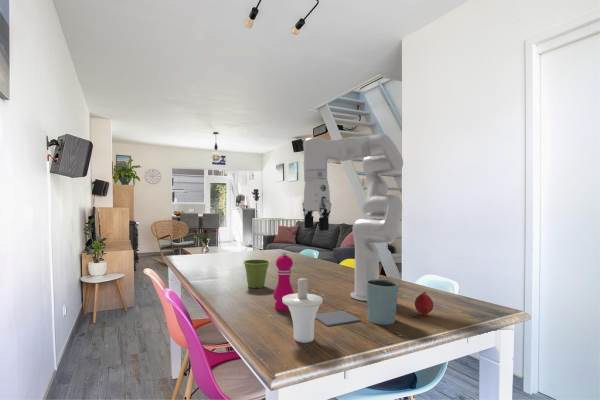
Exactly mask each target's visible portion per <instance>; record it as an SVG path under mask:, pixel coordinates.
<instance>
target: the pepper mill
mask: <svg viewBox="0 0 600 400" xmlns="http://www.w3.org/2000/svg"><path fill="white" fill-rule="evenodd" d="M293 264H294V262H293V259H292V257H291V256H288V252H287V251H282V253H281V255H280V256H279V257H277V258H276V262H275V267H277V269H276V271H277V272H276V275H278V278H277V279H278V281H277V285H276V287H275V289H274V292H273V299H274V301H275V302H274V309H275V310H277V311H282V312H283V311H290V310H289V308H288V305H285V304H284V303H283V302H282V298H283V297H284V296H286V295H289V294H295V292H294V289H293V286H292V284H291V274H292V270H291V268H292V267H293Z"/></svg>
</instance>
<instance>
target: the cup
mask: <svg viewBox="0 0 600 400" xmlns="http://www.w3.org/2000/svg"><path fill="white" fill-rule="evenodd" d="M288 308H289V310H288V311H289V312H290V315H291V319H292V325H293V326H292V328H293V340H294V341H295V342H296V343H297V342H298V343H303V344H307V343H311V342H313V341H314V339H315V321H316V319H315V318H316V314H318V311H319V308H320V305H318V306H315V307H292V306H288Z"/></svg>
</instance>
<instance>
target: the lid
mask: <svg viewBox="0 0 600 400" xmlns="http://www.w3.org/2000/svg"><path fill="white" fill-rule="evenodd" d="M308 283H309V281H308V278H303V277H302V278H298V279H297V292H296V293H294V294H289V295H286V296H284V297H283V298H282V302H283V303H284V304H285V305H288V306H292V307H315V306H318V305H322V304H323V303H324V300H323V297H322V296H320V295H318V294H314V293H308Z"/></svg>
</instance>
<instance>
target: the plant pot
mask: <svg viewBox="0 0 600 400" xmlns="http://www.w3.org/2000/svg"><path fill="white" fill-rule="evenodd" d="M270 263H271V261H270V260H267V259H255V258H254V259H246V260H243V264H244V269H245V274H246V281H247V286H248V288H250V289H251V288H252V289H256V288H257V289H261V288H263V287H265V283H266V278H267V272H268V268H269V265H270Z"/></svg>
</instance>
